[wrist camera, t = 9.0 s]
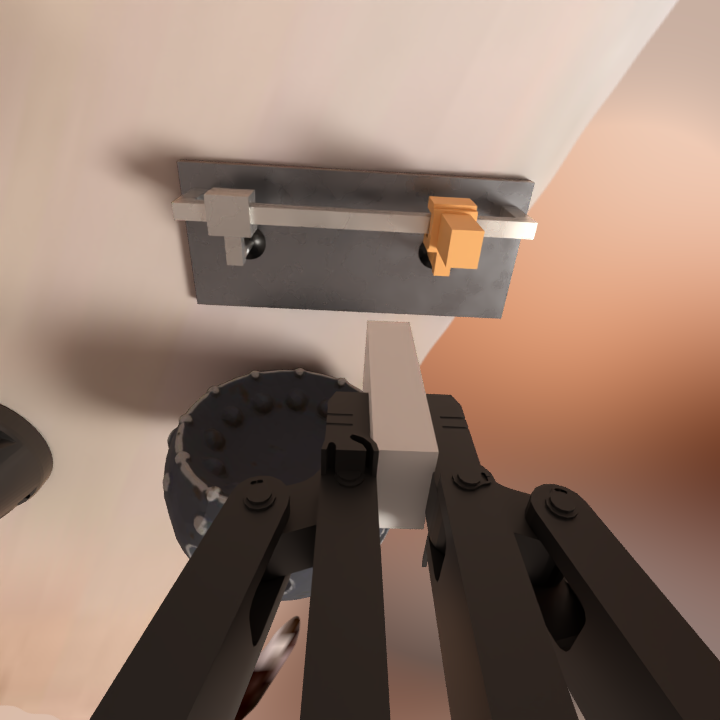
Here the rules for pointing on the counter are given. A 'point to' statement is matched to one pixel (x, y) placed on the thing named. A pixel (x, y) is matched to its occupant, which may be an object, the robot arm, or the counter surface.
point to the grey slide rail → (315, 218)
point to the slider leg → (453, 234)
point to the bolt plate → (350, 243)
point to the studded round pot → (247, 448)
